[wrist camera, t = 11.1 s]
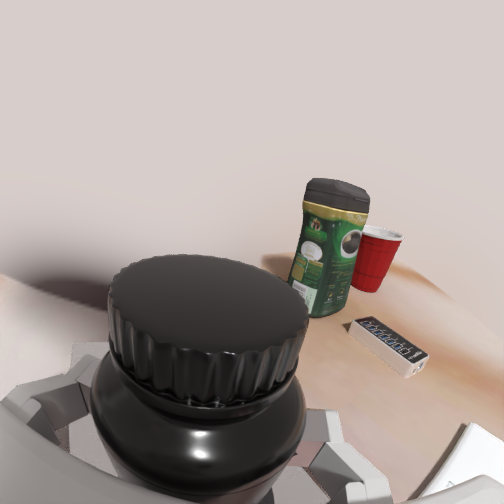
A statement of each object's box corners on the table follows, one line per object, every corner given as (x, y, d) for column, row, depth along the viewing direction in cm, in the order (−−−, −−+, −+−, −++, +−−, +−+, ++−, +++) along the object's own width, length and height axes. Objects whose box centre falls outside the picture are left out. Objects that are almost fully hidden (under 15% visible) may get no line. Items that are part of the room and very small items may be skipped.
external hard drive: (510, 462, 9) (464, 556, 2) (462, 431, 15) (400, 513, 9) (520, 452, 8) (480, 547, 2) (471, 420, 15) (414, 504, 8)
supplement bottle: (120, 524, 6) (-6, 334, 3) (140, 429, 13) (122, 232, 9) (265, 539, 7) (409, 388, 3) (253, 443, 13) (307, 256, 10)
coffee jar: (313, 290, 46) (338, 181, 41) (350, 310, 40) (381, 191, 35) (272, 299, 40) (297, 171, 35) (311, 325, 34) (346, 179, 29)
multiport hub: (366, 329, 35) (372, 315, 35) (422, 370, 26) (430, 355, 25) (345, 334, 33) (351, 319, 33) (404, 381, 24) (413, 365, 23)
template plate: (100, 569, 3) (88, 566, 3) (74, 348, 20) (70, 331, 20) (331, 510, 10) (344, 500, 9) (209, 341, 27) (211, 326, 26)
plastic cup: (328, 275, 55) (342, 218, 52) (368, 277, 58) (382, 226, 55) (356, 298, 45) (374, 231, 42) (397, 298, 48) (415, 239, 44)
